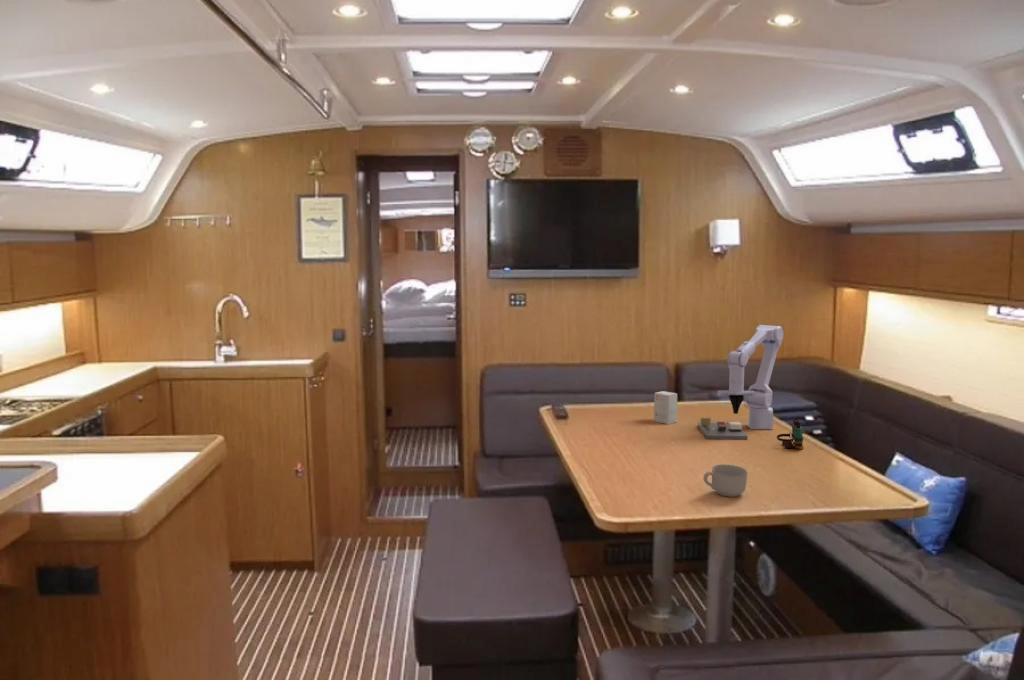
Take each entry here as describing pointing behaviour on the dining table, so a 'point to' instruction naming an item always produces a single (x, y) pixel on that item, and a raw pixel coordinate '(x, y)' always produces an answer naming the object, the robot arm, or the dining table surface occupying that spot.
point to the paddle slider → (704, 420)
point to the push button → (735, 425)
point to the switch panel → (721, 432)
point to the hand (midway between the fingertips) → (735, 413)
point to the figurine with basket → (793, 436)
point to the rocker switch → (721, 425)
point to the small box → (665, 407)
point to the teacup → (727, 479)
